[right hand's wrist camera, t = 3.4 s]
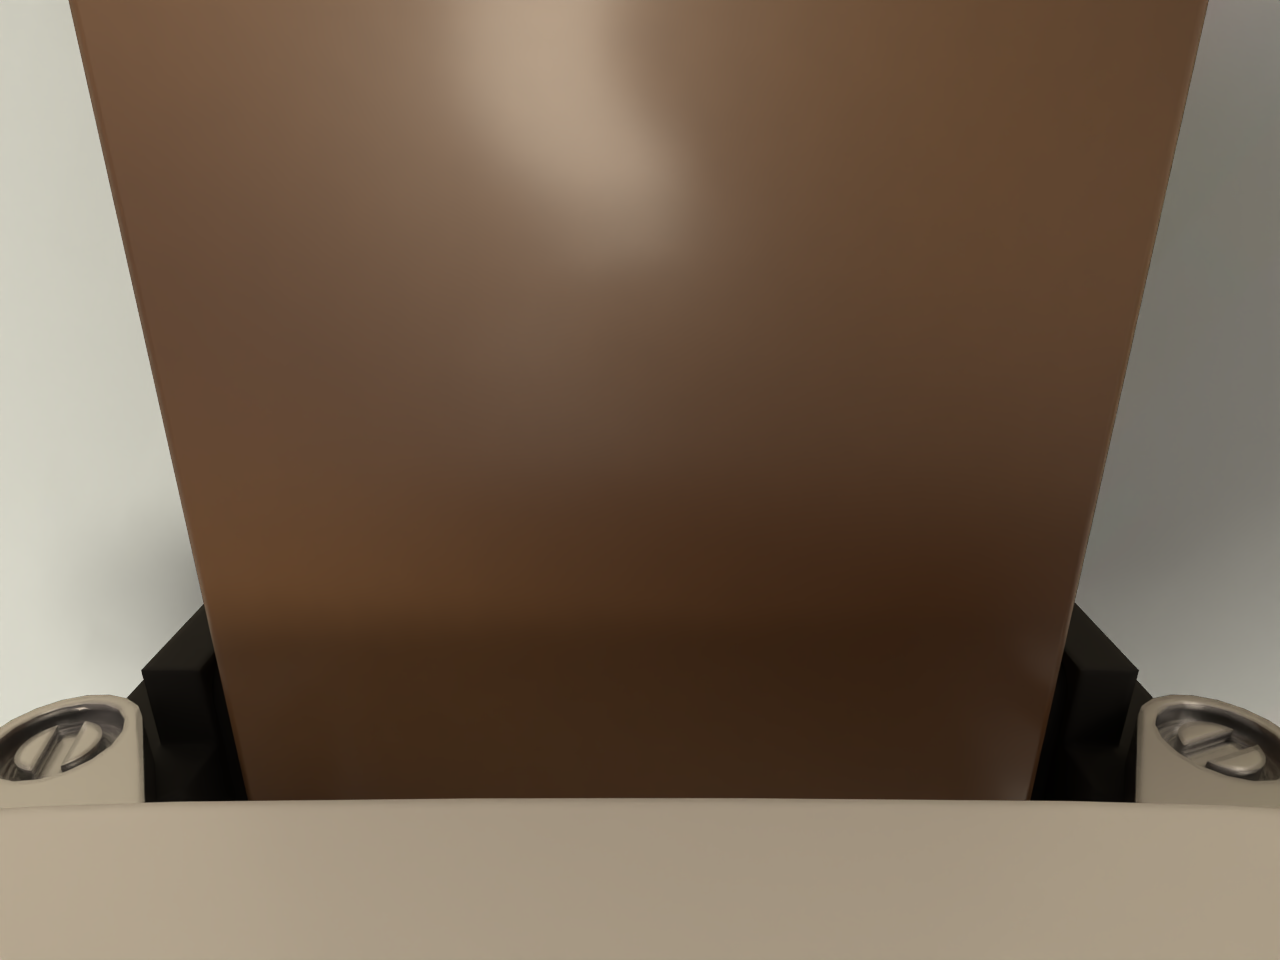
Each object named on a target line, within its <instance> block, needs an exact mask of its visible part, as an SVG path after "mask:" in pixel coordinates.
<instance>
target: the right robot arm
mask: <svg viewBox="0 0 1280 960" xmlns="http://www.w3.org/2000/svg"><path fill="white" fill-rule="evenodd" d="M141 671H142V675H143V679H144V680H143V681H142V682H141V683H140V684H139V685H138V686H137V688H136V689H135V690H134V691H133V692H132V693H131V694H130V695H129V696H128V697H127V698H123V697H118V696H113V695H86V696H81V697H76V698H70V699H65V700H61V701H58V702H55V703H51V704H48V705H45V706H42V707H39V708H36V709H34V710H32V711H30V712H28V713H26V714H23V715H21V716H19V717H17V718H15V719H13V720H11V721H9V722H8V723H6V724H5V725H3V726H2V727H0V960H1280V727H1278V726H1277V725H1275V724H1274V723H1272V722H1271V721H1269V720H1267V719H1265V718H1263V717H1261V716H1259V715H1257V714H1254V713H1252V712H1250V711H1248V710H1246V709H1244V708H1241V707H1238V706H1235V705H1232V704H1229V703H1225V702H1222V701H1219V700H1215V699H1210V698H1204V697H1199V696H1194V695H1167V696H1162V697H1157V698H1153V697H1152V696H1151V695H1150V694H1149V693H1148V692H1147V691H1146V690H1145V689H1144V688H1143V686H1142V685H1141V684H1140V683H1139V682H1138V681H1137V680H1136V679H1137V675H1138V671H1139V670H1138V669H1137V668H1136V667H1135V666H1134V665H1133V664H1132V663H1131V662H1130V661H1129V659H1128V658H1127V657H1126V656H1125V655H1124V654H1123V653H1122V652H1121V651H1120V650H1119V649H1118V648H1117V647H1116V646H1115V645H1114V644H1113V643H1112V641H1111V640H1110V639H1109V638H1108V637H1107V636H1106V635H1105V634H1104V633H1103V632H1102V631H1101V630H1100V629H1099V628H1098V627H1097V626H1096V624H1095V623H1094V622H1093V621H1092V620H1091V619H1090V618H1089V617H1088V616H1087V615H1086V614H1085V613H1084V612H1083V611H1082V610H1081V609H1080V608H1079V606H1078V605H1077V604H1076V603H1075V602H1074V606H1073V611H1072V615H1071V620H1070V624H1069V629H1068V633H1067V638H1066V642H1065V647H1064V651H1063V655H1062V660H1061V664H1060V669H1059V673H1058V678H1057V682H1056V687H1055V691H1054V696H1053V700H1052V705H1051V709H1050V714H1049V718H1048V723H1047V727H1046V732H1045V736H1044V741H1043V745H1042V750H1041V754H1040V759H1039V763H1038V768H1037V772H1036V776H1035V781H1034V785H1033V790H1032V794H1031V799H1030V801H998V800H885V799H771V798H471V799H381V800H291V801H248V798H247V794H246V789H245V785H244V780H243V776H242V771H241V767H240V762H239V758H238V753H237V749H236V745H235V740H234V736H233V731H232V727H231V722H230V718H229V713H228V709H227V704H226V700H225V695H224V691H223V687H222V682H221V678H220V673H219V669H218V664H217V660H216V655H215V651H214V646H213V642H212V637H211V633H210V629H209V624H208V620H207V615H206V611H205V606H204V604H203V605H202V606H201V608H200V609H199V610H198V611H197V612H196V613H195V614H194V615H193V616H192V617H191V618H190V619H189V620H188V621H187V622H186V623H185V625H184V626H183V627H182V628H181V629H180V630H179V631H178V632H177V633H176V634H175V635H174V636H173V637H172V638H171V639H170V640H169V641H168V643H167V644H166V645H165V646H164V647H163V648H162V649H161V650H160V651H159V652H158V653H157V654H156V655H155V656H154V657H153V658H152V659H151V661H150V662H149V663H148V664H147V665H146V666H145V667H144V668H143V669H142V670H141Z"/></svg>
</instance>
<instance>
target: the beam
mask: <svg viewBox="0 0 1280 960" xmlns="http://www.w3.org/2000/svg"><path fill="white" fill-rule="evenodd" d="M1208 1H1209V0H69V4H70V9H71V13H72V17H73V22H74V26H75V31H76V35H77V40H78V44H79V49H80V53H81V58H82V62H83V66H84V71H85V75H86V80H87V84H88V89H89V93H90V98H91V102H92V107H93V111H94V116H95V120H96V124H97V129H98V133H99V138H100V142H101V147H102V151H103V156H104V160H105V165H106V169H107V174H108V178H109V182H110V187H111V191H112V196H113V200H114V205H115V209H116V214H117V218H118V223H119V227H120V232H121V236H122V240H123V245H124V249H125V254H126V258H127V263H128V267H129V272H130V276H131V281H132V285H133V290H134V294H135V298H136V303H137V307H138V312H139V316H140V321H141V325H142V330H143V334H144V339H145V343H146V348H147V352H148V356H149V361H150V365H151V370H152V374H153V379H154V383H155V388H156V392H157V397H158V401H159V405H160V410H161V414H162V419H163V423H164V428H165V432H166V437H167V441H168V446H169V450H170V455H171V459H172V463H173V468H174V472H175V477H176V481H177V486H178V490H179V495H180V499H181V504H182V508H183V513H184V517H185V521H186V526H187V530H188V535H189V539H190V544H191V548H192V553H193V557H194V562H195V566H196V571H197V575H198V579H199V584H200V588H201V593H202V597H203V602H204V606H205V611H206V615H207V620H208V624H209V629H210V633H211V637H212V642H213V646H214V651H215V655H216V660H217V664H218V669H219V673H220V678H221V682H222V687H223V691H224V695H225V700H226V704H227V709H228V713H229V718H230V722H231V727H232V731H233V736H234V740H235V745H236V749H237V753H238V758H239V762H240V767H241V771H242V776H243V780H244V785H245V789H246V794H247V798H248V801H291V800H381V799H471V798H771V799H885V800H998V801H1030V799H1031V794H1032V790H1033V785H1034V781H1035V776H1036V772H1037V768H1038V763H1039V759H1040V754H1041V750H1042V745H1043V741H1044V736H1045V732H1046V727H1047V723H1048V718H1049V714H1050V709H1051V705H1052V700H1053V696H1054V691H1055V687H1056V682H1057V678H1058V673H1059V669H1060V664H1061V660H1062V655H1063V651H1064V647H1065V642H1066V638H1067V633H1068V629H1069V624H1070V620H1071V615H1072V611H1073V606H1074V602H1075V597H1076V593H1077V588H1078V584H1079V579H1080V575H1081V570H1082V566H1083V561H1084V557H1085V552H1086V548H1087V543H1088V539H1089V534H1090V530H1091V525H1092V521H1093V517H1094V512H1095V508H1096V503H1097V499H1098V494H1099V490H1100V485H1101V481H1102V476H1103V472H1104V467H1105V463H1106V458H1107V454H1108V449H1109V445H1110V440H1111V436H1112V431H1113V427H1114V422H1115V418H1116V413H1117V409H1118V404H1119V400H1120V396H1121V391H1122V387H1123V382H1124V378H1125V373H1126V369H1127V364H1128V360H1129V355H1130V351H1131V346H1132V342H1133V337H1134V333H1135V328H1136V324H1137V319H1138V315H1139V310H1140V306H1141V301H1142V297H1143V292H1144V288H1145V283H1146V279H1147V274H1148V270H1149V266H1150V261H1151V257H1152V252H1153V248H1154V243H1155V239H1156V234H1157V230H1158V225H1159V221H1160V216H1161V212H1162V207H1163V203H1164V198H1165V194H1166V189H1167V185H1168V180H1169V176H1170V171H1171V167H1172V162H1173V158H1174V153H1175V149H1176V145H1177V140H1178V136H1179V131H1180V127H1181V122H1182V118H1183V113H1184V109H1185V104H1186V100H1187V95H1188V91H1189V86H1190V82H1191V77H1192V73H1193V68H1194V64H1195V59H1196V55H1197V50H1198V46H1199V41H1200V37H1201V32H1202V28H1203V24H1204V19H1205V15H1206V10H1207V6H1208Z"/></svg>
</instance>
